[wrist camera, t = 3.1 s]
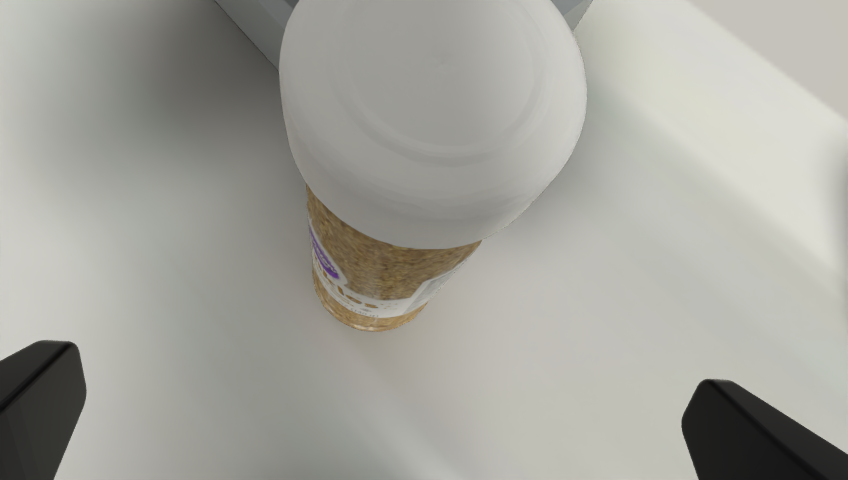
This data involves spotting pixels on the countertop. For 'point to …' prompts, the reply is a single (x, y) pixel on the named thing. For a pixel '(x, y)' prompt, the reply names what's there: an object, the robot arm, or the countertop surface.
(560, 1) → the tray
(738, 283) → the countertop surface
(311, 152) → the sprinkles bottle
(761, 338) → the countertop surface
